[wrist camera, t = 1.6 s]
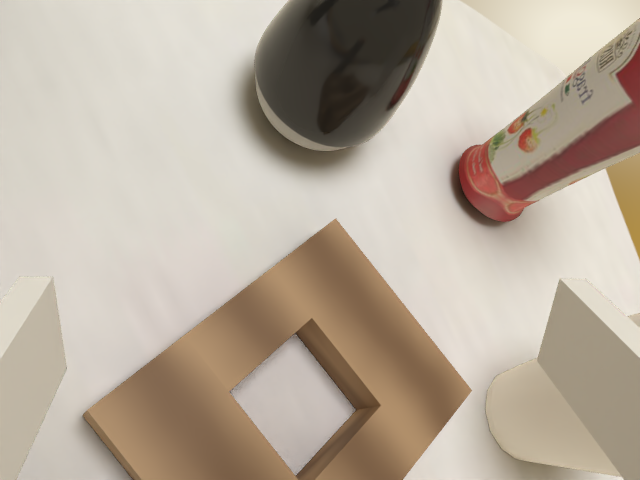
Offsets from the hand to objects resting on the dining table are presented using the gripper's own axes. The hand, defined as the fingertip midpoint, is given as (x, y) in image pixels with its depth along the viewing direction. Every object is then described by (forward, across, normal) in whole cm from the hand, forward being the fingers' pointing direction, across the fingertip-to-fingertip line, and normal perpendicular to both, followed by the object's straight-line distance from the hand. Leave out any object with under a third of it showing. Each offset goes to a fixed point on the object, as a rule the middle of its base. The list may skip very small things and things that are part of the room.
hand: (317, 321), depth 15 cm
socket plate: (+14, +1, -15) cm, 21 cm away
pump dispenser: (+30, +2, -1) cm, 30 cm away
